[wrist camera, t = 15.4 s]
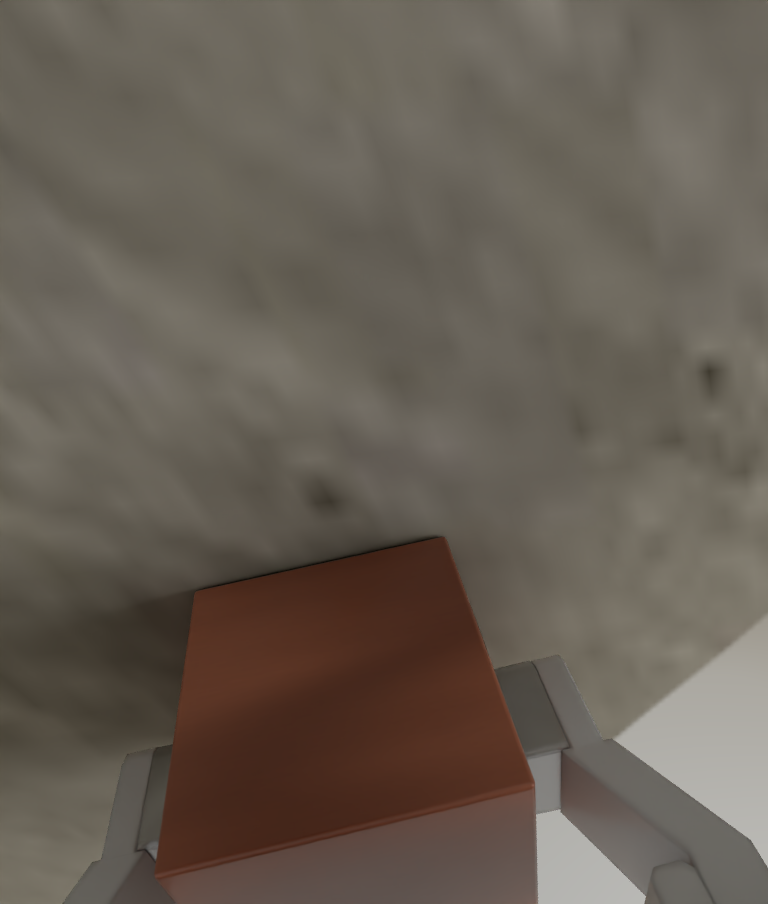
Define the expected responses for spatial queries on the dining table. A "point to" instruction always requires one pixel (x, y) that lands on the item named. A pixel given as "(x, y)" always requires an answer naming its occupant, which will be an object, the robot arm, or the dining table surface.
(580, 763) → the robot arm
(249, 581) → the block
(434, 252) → the dining table surface
